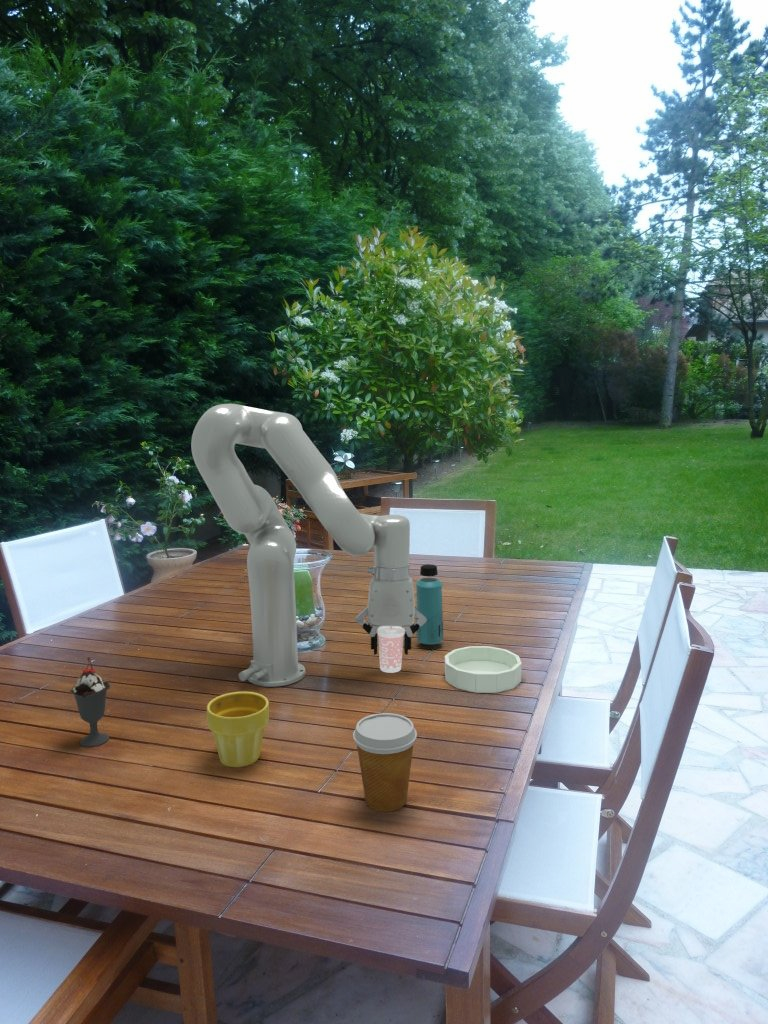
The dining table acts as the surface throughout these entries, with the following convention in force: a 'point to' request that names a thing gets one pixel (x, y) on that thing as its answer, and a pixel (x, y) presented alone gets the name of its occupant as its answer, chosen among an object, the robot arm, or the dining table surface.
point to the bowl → (483, 669)
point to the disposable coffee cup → (385, 759)
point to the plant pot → (238, 726)
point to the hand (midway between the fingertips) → (390, 651)
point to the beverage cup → (390, 648)
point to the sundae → (91, 704)
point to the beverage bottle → (430, 606)
